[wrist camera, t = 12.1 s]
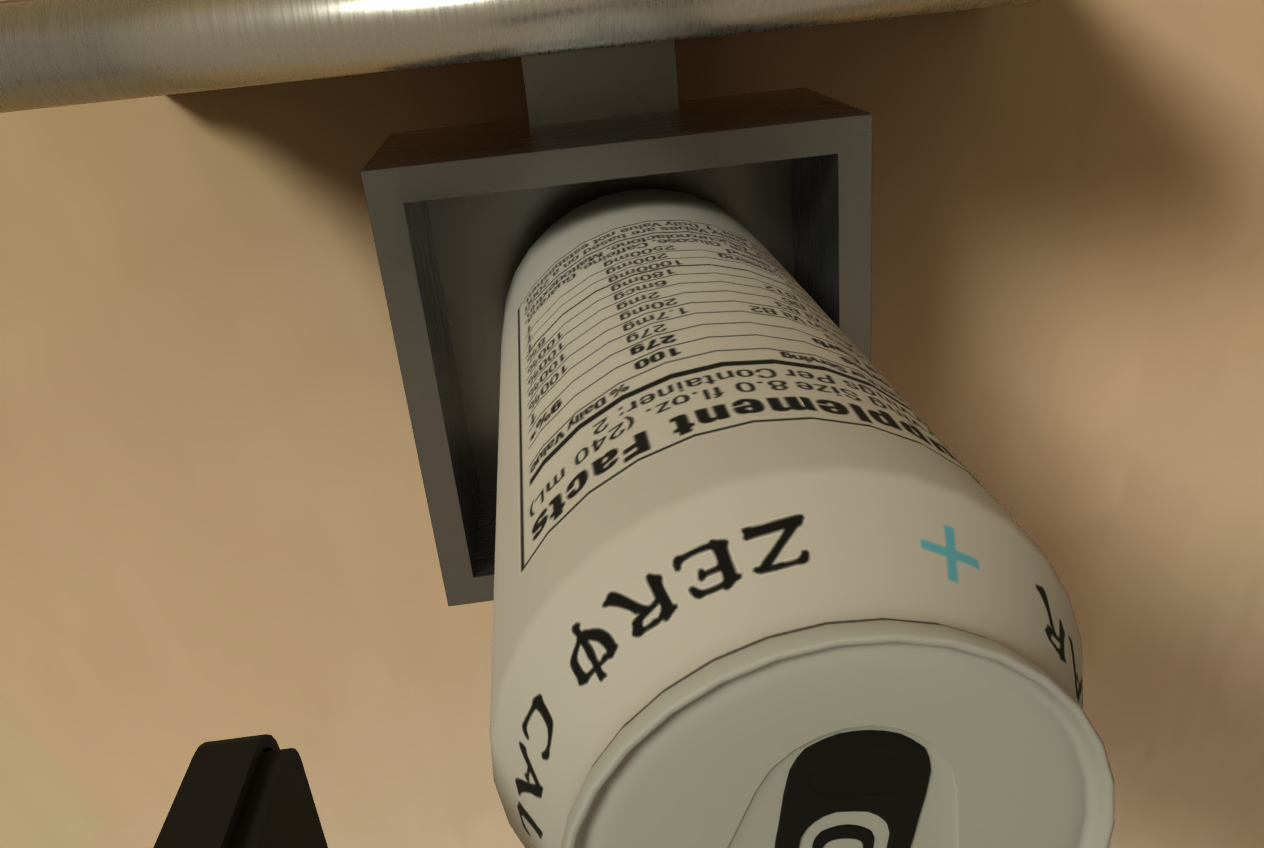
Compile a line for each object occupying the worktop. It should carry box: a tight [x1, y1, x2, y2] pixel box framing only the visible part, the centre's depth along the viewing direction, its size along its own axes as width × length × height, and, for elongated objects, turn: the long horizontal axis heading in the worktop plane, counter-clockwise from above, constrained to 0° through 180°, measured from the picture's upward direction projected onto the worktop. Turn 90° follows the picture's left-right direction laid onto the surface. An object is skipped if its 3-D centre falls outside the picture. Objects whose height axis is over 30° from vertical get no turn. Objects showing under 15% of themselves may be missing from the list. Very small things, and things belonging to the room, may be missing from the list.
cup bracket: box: [0, 0, 1051, 606], centre depth 20 cm, size 14×20×10 cm
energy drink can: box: [490, 189, 1114, 848], centre depth 15 cm, size 6×6×15 cm
